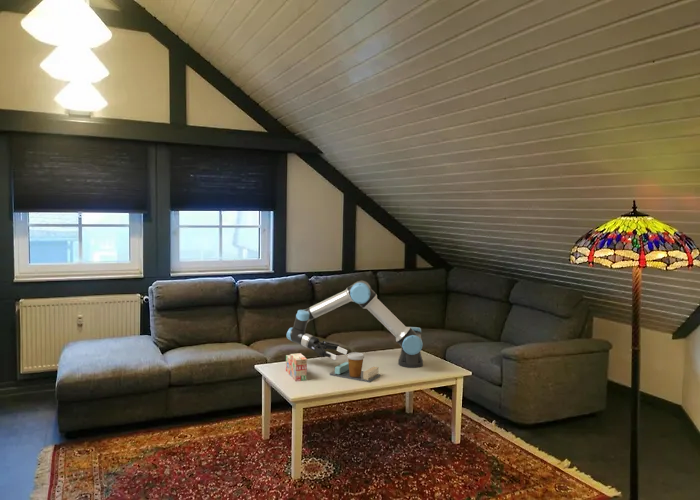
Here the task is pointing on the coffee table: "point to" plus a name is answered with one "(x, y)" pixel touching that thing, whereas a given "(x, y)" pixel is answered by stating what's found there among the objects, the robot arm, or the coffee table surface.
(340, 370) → the bar
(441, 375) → the coffee table surface
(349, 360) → the disposable coffee cup
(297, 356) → the stack of blocks
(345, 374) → the base
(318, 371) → the coffee table surface
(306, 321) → the robot arm
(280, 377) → the coffee table surface
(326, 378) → the coffee table surface
